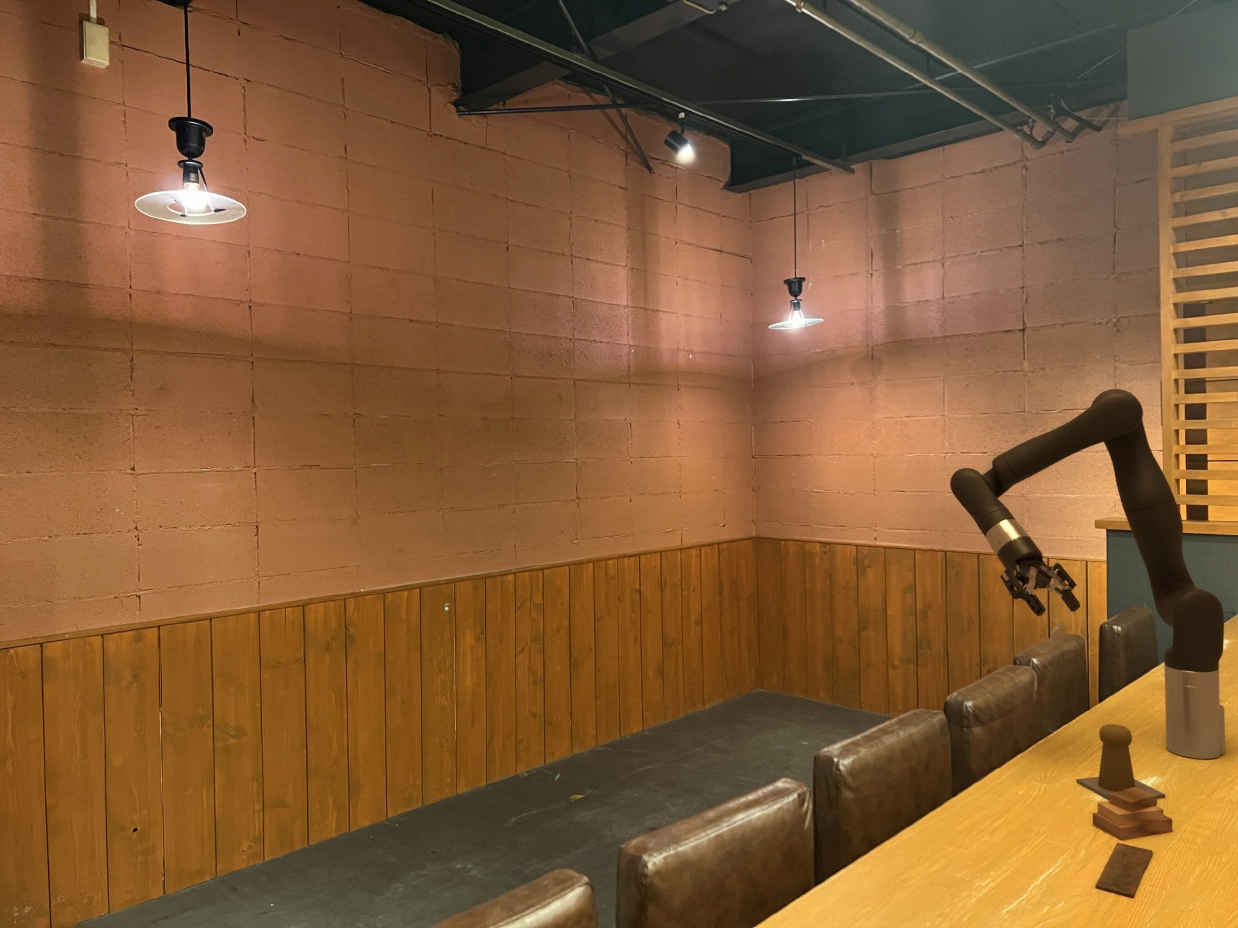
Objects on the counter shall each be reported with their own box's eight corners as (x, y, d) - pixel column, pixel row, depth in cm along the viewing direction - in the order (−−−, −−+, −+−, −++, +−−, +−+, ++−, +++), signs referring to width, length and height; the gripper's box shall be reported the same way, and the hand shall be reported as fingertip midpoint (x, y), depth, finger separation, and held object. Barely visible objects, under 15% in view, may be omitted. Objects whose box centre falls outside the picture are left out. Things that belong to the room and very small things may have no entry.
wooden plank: (1116, 840, 140) (1153, 846, 136) (1117, 848, 140) (1153, 854, 137) (1094, 885, 127) (1134, 893, 124) (1095, 894, 127) (1135, 902, 124)
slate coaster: (1124, 776, 166) (1124, 773, 166) (1165, 797, 156) (1165, 794, 156) (1076, 782, 165) (1076, 778, 165) (1114, 803, 155) (1114, 800, 155)
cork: (1132, 781, 163) (1130, 721, 162) (1139, 793, 157) (1137, 732, 157) (1095, 778, 165) (1093, 719, 164) (1101, 790, 159) (1099, 730, 159)
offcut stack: (1142, 816, 149) (1141, 784, 149) (1173, 831, 143) (1172, 798, 143) (1092, 824, 147) (1091, 792, 147) (1122, 840, 141) (1121, 806, 141)
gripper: (994, 537, 176) (1041, 603, 166) (1050, 532, 181) (1098, 596, 171) (976, 560, 182) (1020, 626, 171) (1031, 555, 186) (1077, 618, 176)
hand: (1059, 611), depth 171 cm, fingers open, 8 cm apart
